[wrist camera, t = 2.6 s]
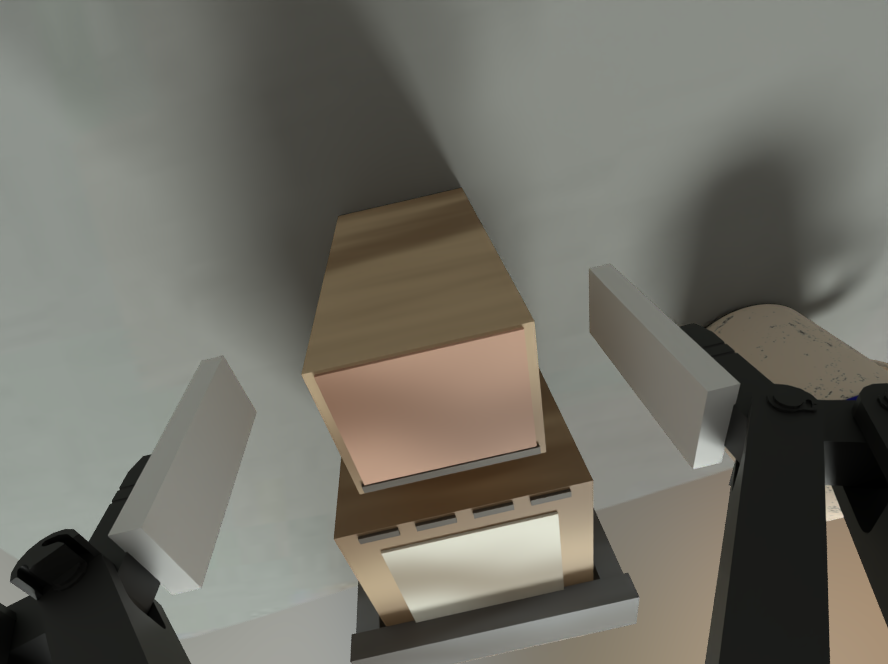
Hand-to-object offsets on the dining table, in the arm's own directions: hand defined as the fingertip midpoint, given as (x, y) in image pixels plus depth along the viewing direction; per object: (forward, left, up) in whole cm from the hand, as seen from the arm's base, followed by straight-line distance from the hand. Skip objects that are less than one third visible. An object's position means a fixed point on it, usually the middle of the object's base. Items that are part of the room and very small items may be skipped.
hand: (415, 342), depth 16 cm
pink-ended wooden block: (0, 0, -8) cm, 8 cm away
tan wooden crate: (+7, +8, -8) cm, 13 cm away
